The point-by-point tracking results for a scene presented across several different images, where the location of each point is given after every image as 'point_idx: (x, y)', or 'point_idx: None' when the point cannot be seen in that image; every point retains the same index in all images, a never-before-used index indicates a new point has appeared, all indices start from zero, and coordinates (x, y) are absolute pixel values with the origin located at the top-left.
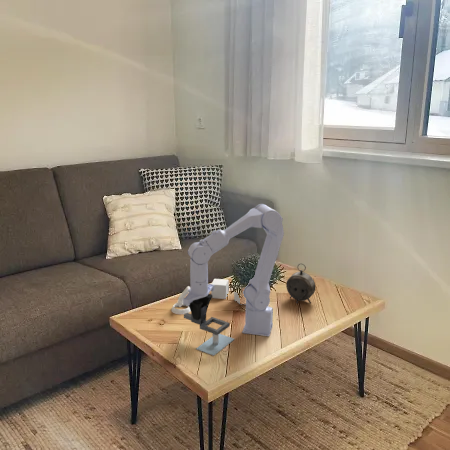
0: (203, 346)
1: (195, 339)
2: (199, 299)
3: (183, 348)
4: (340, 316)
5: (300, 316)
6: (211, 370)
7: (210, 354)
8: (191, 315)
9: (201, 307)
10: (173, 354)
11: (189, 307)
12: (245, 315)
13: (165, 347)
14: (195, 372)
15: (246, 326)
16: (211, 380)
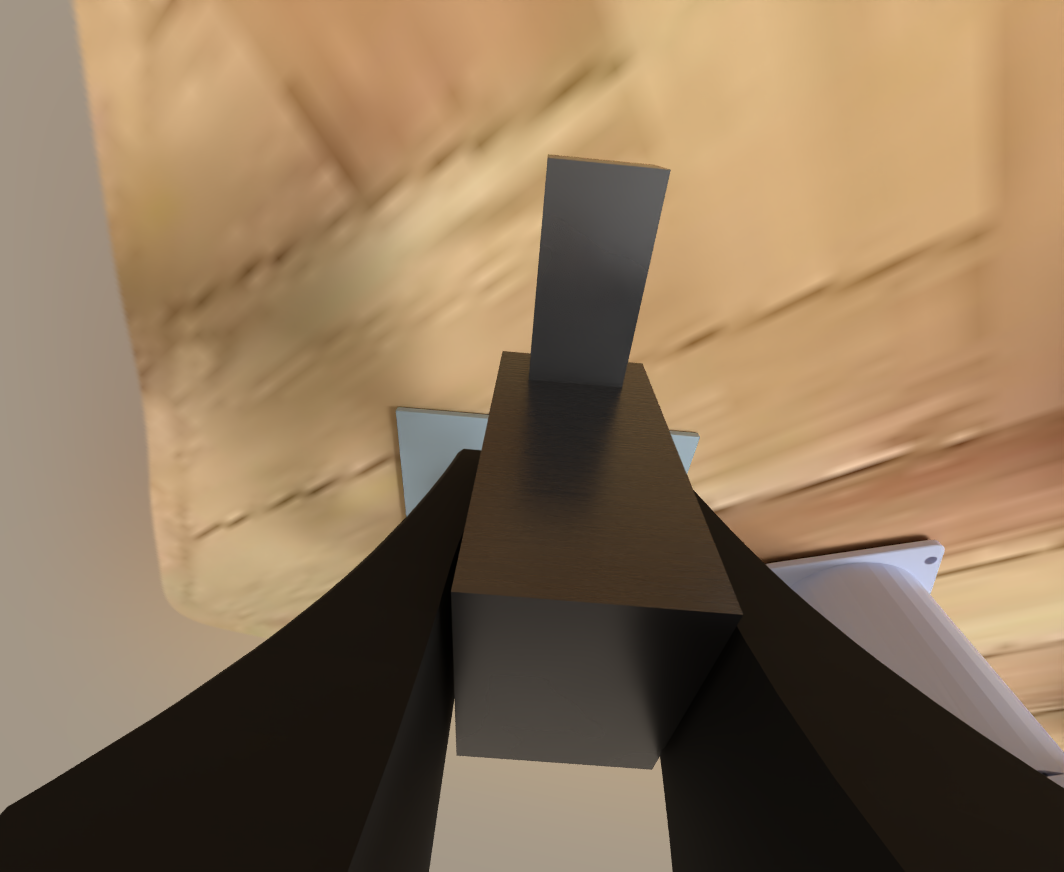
0: (452, 443)
1: (524, 321)
2: (771, 792)
3: (334, 309)
4: None
5: (1045, 709)
6: (286, 574)
7: (408, 513)
8: (489, 414)
9: (512, 746)
10: (199, 286)
11: (297, 618)
12: (898, 664)
13: (205, 119)
14: (198, 523)
15: (811, 605)
16: (225, 602)
